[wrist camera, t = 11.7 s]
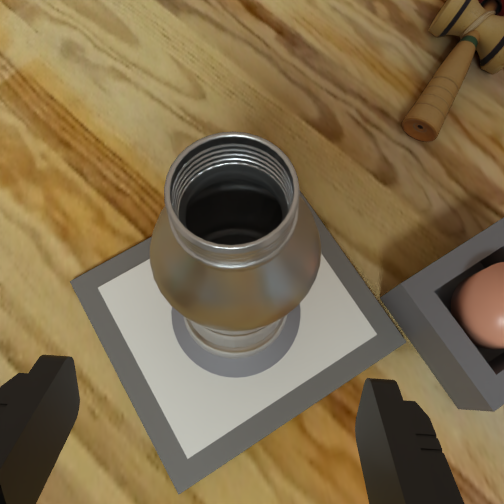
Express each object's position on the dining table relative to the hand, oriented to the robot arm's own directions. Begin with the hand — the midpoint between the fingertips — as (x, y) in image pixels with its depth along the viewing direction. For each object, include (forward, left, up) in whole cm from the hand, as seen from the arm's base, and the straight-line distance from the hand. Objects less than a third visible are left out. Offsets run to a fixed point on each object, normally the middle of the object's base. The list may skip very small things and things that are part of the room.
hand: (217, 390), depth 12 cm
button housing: (-17, +4, -19) cm, 26 cm away
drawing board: (-3, -5, -19) cm, 20 cm away
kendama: (-31, -13, -19) cm, 39 cm away
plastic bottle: (-3, -4, -18) cm, 19 cm away
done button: (-17, +4, -16) cm, 24 cm away
